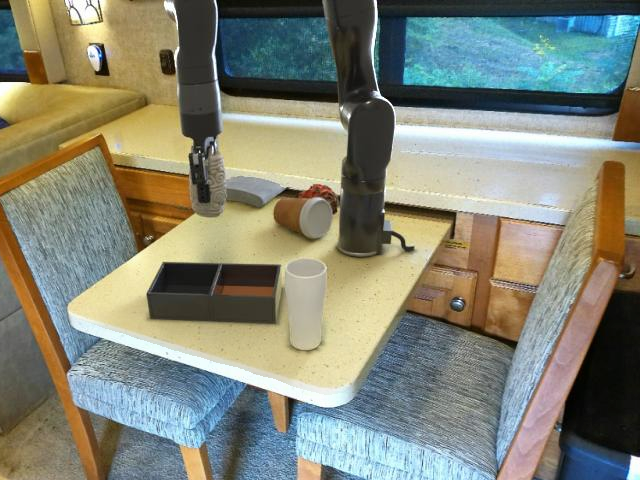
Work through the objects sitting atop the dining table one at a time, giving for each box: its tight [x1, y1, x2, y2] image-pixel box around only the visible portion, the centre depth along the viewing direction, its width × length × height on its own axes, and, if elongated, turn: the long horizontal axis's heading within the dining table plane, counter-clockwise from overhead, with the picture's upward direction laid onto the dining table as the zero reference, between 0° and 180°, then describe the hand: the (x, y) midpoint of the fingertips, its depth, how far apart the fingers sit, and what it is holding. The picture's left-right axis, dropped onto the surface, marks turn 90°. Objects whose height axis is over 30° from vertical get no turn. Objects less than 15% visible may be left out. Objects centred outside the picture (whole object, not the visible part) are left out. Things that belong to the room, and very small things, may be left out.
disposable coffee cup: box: [272, 197, 334, 240], centre depth 138 cm, size 10×10×12 cm
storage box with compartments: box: [145, 261, 283, 325], centre depth 114 cm, size 24×12×6 cm, turn 82°
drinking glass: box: [284, 257, 328, 351], centre depth 100 cm, size 7×7×15 cm
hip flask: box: [226, 176, 288, 208], centre depth 162 cm, size 16×4×20 cm
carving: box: [188, 150, 227, 219], centre depth 113 cm, size 6×8×12 cm
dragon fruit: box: [296, 183, 340, 216], centre depth 146 cm, size 8×8×12 cm
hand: (208, 194), depth 114 cm, fingers closed on carving, 6 cm apart
